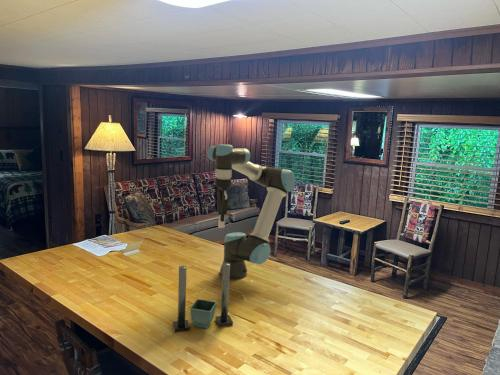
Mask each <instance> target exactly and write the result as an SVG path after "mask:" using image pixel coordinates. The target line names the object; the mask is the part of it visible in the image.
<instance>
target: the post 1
mask: <svg viewBox="0 0 500 375" xmlns="http://www.w3.org/2000/svg"><path fill="white" fill-rule="evenodd" d="M187 269H188V268H187V266H186V265H180V266H178V286H177V287H178V288H177V289H178V291H177V293H178V295H177V296H178V297H177V300H178V301H177V320H174V321H172V327H173V330H174V331H173V332H174V333H182V332H189V331H191V326H190V322H189V320H188V319H186V310H187V309H186V308H187V307H186V305H187V303H186V301H187Z"/></svg>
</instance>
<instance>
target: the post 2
mask: <svg viewBox="0 0 500 375" xmlns="http://www.w3.org/2000/svg"><path fill="white" fill-rule="evenodd" d="M222 263H223V262H222ZM221 276H222V278H221V279H222V280H221V297H220V298H221V301H220V302H221V303H220V315H219V316H218V315H217V316H215V315H214V317H215V318H214V319H215V322H216V324H217V326H218V328H220V327H228V326H233V324H234V322H233V320H232V318H231V316H230V315H229V299H230V298H229V295H230V279H231V278H230V263H223V273H222V275H221Z"/></svg>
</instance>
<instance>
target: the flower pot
mask: <svg viewBox="0 0 500 375" xmlns="http://www.w3.org/2000/svg"><path fill="white" fill-rule="evenodd" d="M216 308H217V301H212V300H206V299H199V298H197V299H196V300H195V301H194V302H193V304H192V305H191V306H190V308H189V309H190V317H191V318H190V319H191V321H192V324H193V325H194V326H195V327H196V328H202V329H208V328H209V326H210V324H211V322H212V321H213V319H214V317H215V314H216Z"/></svg>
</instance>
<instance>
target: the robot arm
mask: <svg viewBox="0 0 500 375" xmlns="http://www.w3.org/2000/svg"><path fill="white" fill-rule="evenodd" d="M206 156H207V159H209V160H210V161H213V162H215V170H214V174H215V178H214V186H215V187H217V188H218V189H217V191H216V198H217V204H216V205H217V208H216V209H217V210H216V211H217V214H218V221H217V222H218V225H217V227H218V229H224V228H225V226H226V225H225V224H226V215H227V213H228V205H229V199H230V195H229V191H228V188H230V187H232V177H233V176H232V175H233V170H234V171H236V172H238V173H240V174H243V175H245V176H246V177H247V178H248V179H249V180H250V181H252V182H254V183H256V184H258V185H260V186H262V187H264V188H265V187H266V191H267V194H266V196H265V199H264V202H263V204H262V208H261V210H260V212H259V215H258V217H257V220H256V223H255V226H254V229H253V231H252V232H251V233H250V234H248V237H247V235H246V233H244V232H239V231H238V232H230V233H227V234H226V235H225V236H224V241H223V261H222V264H221V265H220V270H219V274H220V275H221V276H222V273H223V263H230V279H234V280H235V279H236V280H237V279H242V278H245V277H246V276H247V275H248V268H247V264H246V262H248V263H252V264H255V265H262V264H264V263H266V262H267V261H268V259H269V258H270V255H271V245H270V240H269V236H270V233H271V231H272V228H273V225H274V222H275V219H276V217H277V215H278V214H277V213H278V211H279V208H280V206H281V203H282V200H283V198H284V197H287V195H288V193H290V192H292V191H293V190H294V188H295V184H296V178H295V177H296V176H295V175H294V172H293V171H292V170H290V169H286V168H279V167H278V168H277V167H272V166H264V165H260V164H257V163H253V162H251V161H250V160H251V152H250V151H249V150H248V149H247V148H245V147H244V148H243V147H240V148H236V147H233V145H232V144H225V143H224V144H223V143H221V144H217V145H211V146H210V147H209V148H208V150H207V152H206ZM245 261H246V262H245Z"/></svg>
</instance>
